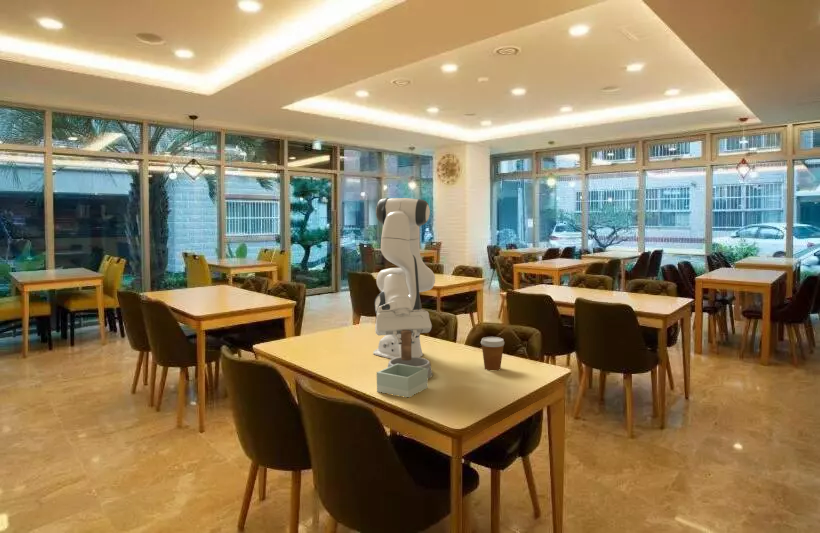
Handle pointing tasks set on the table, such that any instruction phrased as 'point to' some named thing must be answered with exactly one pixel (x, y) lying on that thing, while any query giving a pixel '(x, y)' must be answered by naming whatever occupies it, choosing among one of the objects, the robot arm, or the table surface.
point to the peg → (406, 345)
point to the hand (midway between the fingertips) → (406, 343)
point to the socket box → (402, 380)
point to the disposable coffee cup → (492, 352)
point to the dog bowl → (413, 363)
